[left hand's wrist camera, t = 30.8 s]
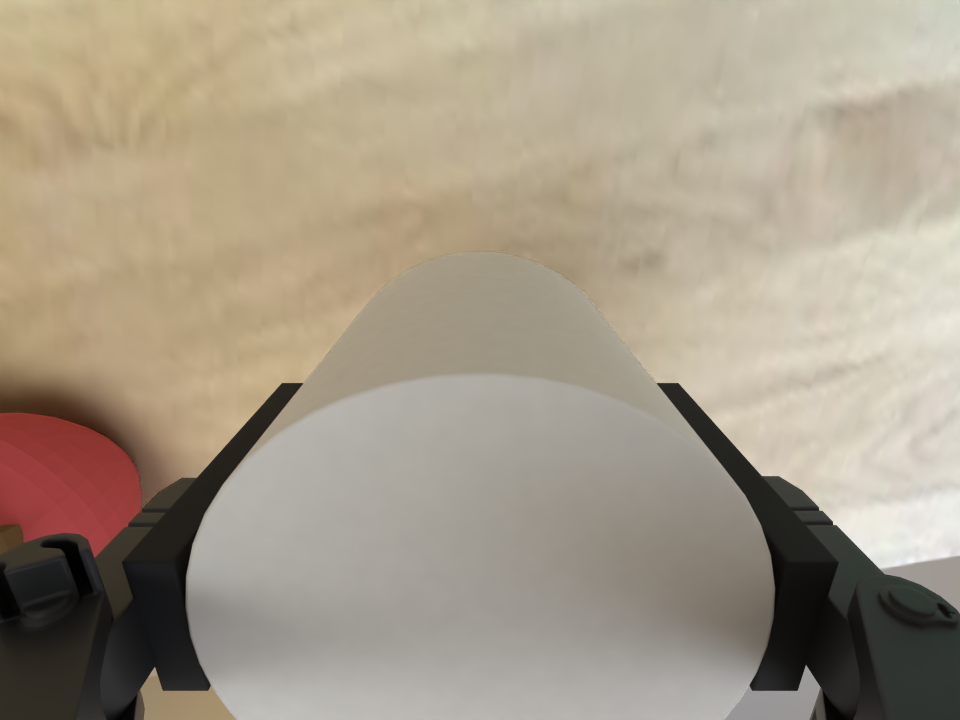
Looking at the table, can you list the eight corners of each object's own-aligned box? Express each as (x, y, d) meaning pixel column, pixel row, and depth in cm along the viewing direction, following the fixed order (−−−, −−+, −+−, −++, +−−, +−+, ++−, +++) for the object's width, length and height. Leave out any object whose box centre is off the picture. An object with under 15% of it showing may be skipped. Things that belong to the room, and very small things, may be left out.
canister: (620, 493, 18) (750, 801, 9) (369, 515, 18) (269, 833, 10) (618, 234, 15) (815, 337, 6) (313, 267, 15) (87, 409, 6)
